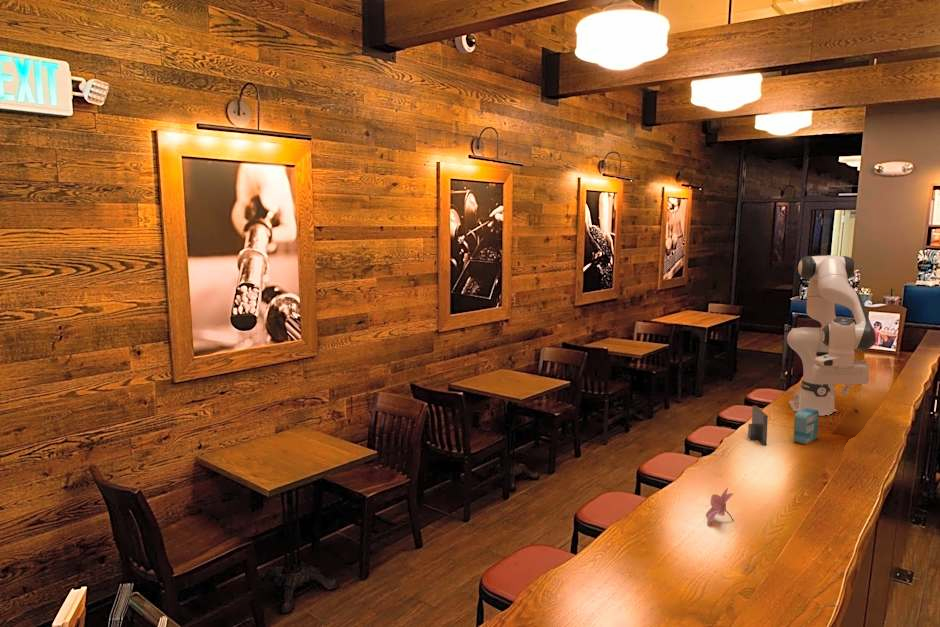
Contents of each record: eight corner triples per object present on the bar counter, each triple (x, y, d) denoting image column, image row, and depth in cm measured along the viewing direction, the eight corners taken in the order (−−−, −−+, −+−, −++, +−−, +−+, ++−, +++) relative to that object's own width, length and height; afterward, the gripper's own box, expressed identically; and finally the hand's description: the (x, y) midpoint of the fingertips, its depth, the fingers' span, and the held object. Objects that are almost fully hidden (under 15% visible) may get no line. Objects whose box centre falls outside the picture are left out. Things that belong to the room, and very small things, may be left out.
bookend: (743, 433, 260) (745, 405, 258) (755, 433, 259) (756, 405, 258) (754, 445, 246) (755, 415, 244) (766, 445, 246) (767, 415, 244)
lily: (714, 511, 194) (700, 486, 192) (752, 506, 186) (737, 480, 185) (705, 538, 185) (690, 512, 183) (744, 534, 177) (728, 507, 176)
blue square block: (805, 445, 245) (806, 415, 243) (793, 442, 248) (794, 413, 246) (817, 438, 252) (819, 409, 251) (805, 435, 256) (807, 407, 254)
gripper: (865, 358, 246) (863, 392, 248) (810, 358, 248) (808, 391, 250) (873, 362, 239) (871, 396, 241) (816, 361, 242) (814, 396, 244)
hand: (838, 394), depth 246 cm, fingers open, 3 cm apart
